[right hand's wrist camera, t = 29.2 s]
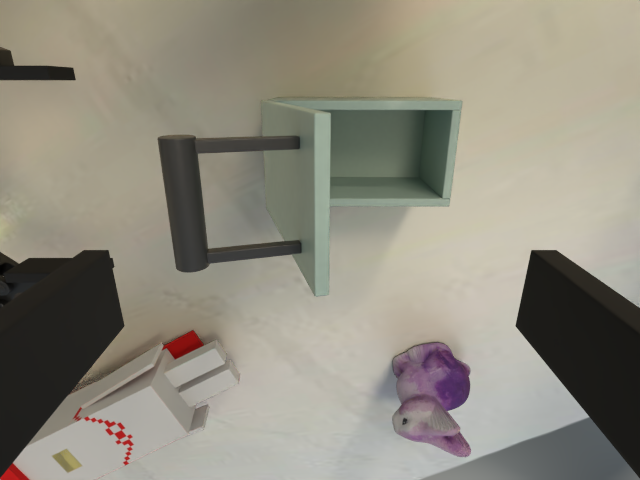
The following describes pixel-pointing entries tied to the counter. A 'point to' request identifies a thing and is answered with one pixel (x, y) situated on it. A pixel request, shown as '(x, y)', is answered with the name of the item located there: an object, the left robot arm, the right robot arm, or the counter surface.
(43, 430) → the toy
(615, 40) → the counter surface
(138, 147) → the counter surface
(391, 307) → the counter surface
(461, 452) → the figurine
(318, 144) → the lid
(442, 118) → the chest
